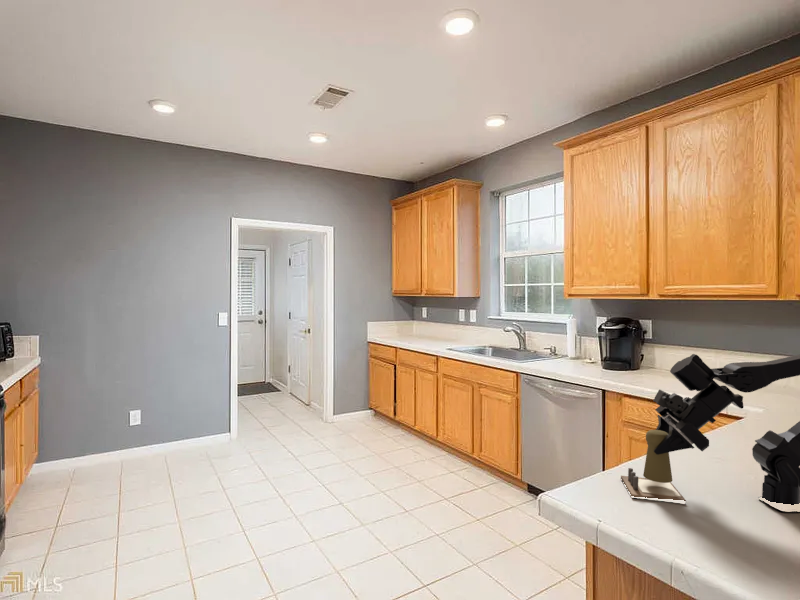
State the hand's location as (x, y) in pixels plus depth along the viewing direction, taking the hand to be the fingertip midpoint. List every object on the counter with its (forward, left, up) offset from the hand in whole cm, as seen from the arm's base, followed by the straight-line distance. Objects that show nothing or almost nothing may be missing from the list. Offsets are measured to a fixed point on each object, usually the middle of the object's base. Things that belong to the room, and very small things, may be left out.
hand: (651, 449), depth 108 cm
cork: (-1, 0, -7) cm, 7 cm away
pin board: (0, 0, -10) cm, 10 cm away
